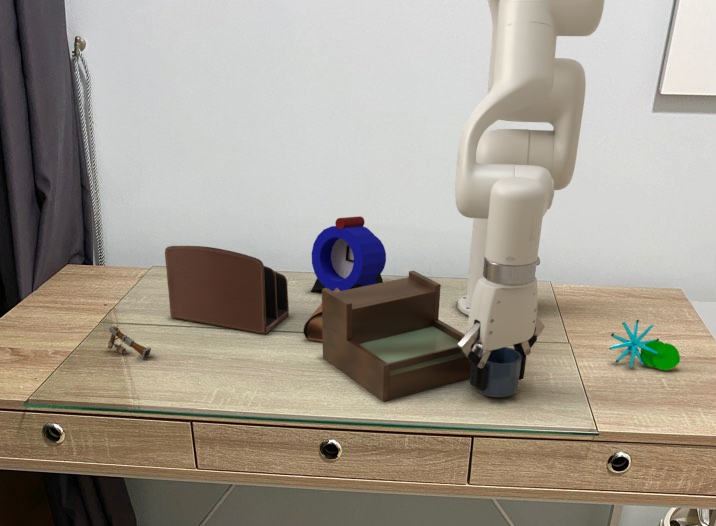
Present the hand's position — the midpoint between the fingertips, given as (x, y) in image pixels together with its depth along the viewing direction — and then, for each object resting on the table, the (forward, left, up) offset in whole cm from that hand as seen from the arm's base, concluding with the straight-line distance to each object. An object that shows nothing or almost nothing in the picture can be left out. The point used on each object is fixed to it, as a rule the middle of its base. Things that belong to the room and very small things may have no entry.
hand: (496, 381), depth 136 cm
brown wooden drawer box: (+8, -16, -2) cm, 18 cm away
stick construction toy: (-29, +3, -2) cm, 29 cm away
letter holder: (+23, -50, -2) cm, 55 cm away
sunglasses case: (+7, -37, -2) cm, 37 cm away
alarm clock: (-4, -51, -2) cm, 51 cm away
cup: (0, 0, -1) cm, 1 cm away
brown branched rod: (+45, -43, -2) cm, 62 cm away
